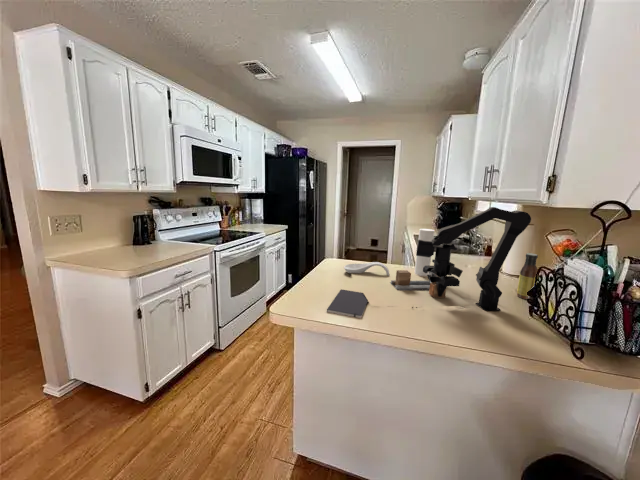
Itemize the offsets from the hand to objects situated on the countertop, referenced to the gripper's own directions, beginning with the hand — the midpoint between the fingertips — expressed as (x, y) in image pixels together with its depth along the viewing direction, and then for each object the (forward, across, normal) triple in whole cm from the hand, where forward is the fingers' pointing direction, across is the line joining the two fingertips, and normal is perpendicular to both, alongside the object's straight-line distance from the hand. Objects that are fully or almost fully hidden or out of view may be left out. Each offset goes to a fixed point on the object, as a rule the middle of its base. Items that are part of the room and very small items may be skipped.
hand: (437, 294), depth 116 cm
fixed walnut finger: (0, +11, +11) cm, 16 cm away
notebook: (+3, -4, +38) cm, 38 cm away
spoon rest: (+2, +32, +22) cm, 39 cm away
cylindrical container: (+2, +29, -7) cm, 30 cm away
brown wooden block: (+2, 0, 0) cm, 2 cm away
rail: (+2, +11, +4) cm, 12 cm away
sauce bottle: (+2, +2, -42) cm, 42 cm away
